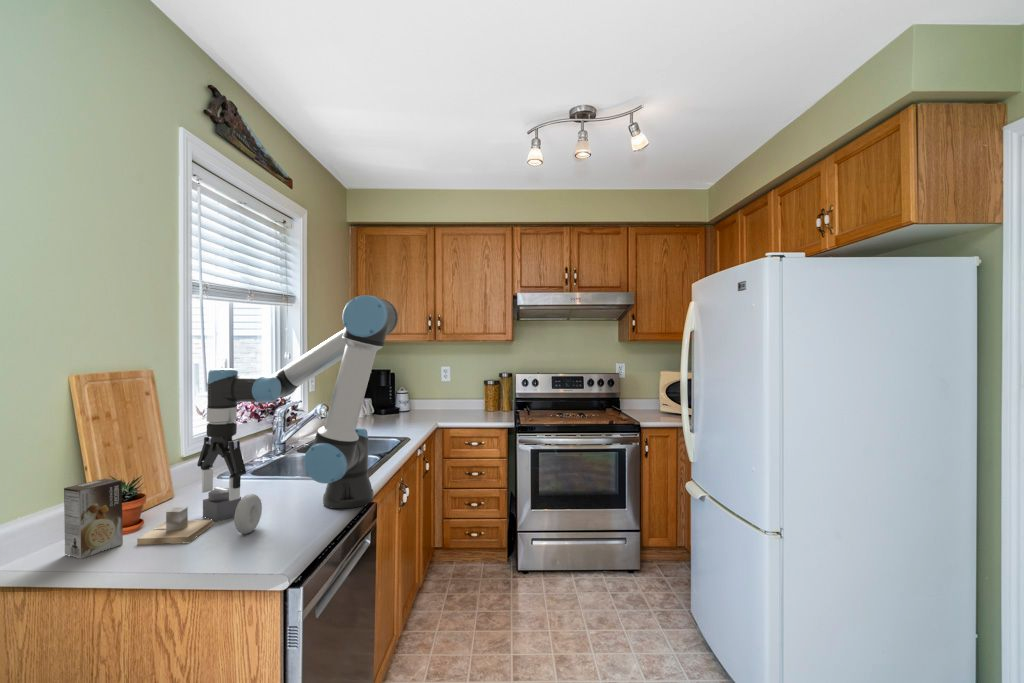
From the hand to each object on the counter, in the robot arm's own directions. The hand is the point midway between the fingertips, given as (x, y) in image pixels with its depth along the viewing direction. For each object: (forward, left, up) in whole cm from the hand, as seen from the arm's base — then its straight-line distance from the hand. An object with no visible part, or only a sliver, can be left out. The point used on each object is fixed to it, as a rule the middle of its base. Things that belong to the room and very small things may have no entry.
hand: (220, 495), depth 143 cm
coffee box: (+3, +29, -6) cm, 30 cm away
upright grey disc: (-19, +4, -6) cm, 21 cm away
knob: (0, 0, -6) cm, 6 cm away
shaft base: (-4, +14, -6) cm, 16 cm away
